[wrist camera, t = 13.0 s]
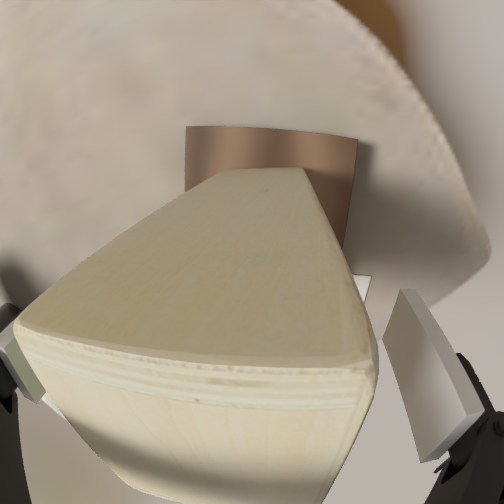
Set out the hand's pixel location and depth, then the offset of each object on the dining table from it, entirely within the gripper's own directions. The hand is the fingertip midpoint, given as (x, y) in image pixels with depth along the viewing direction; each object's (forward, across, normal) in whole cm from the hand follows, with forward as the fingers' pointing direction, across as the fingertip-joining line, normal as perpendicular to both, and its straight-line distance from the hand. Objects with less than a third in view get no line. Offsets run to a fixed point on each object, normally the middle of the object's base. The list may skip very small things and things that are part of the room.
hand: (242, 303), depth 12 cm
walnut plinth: (+17, 0, 0) cm, 17 cm away
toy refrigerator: (+14, 0, 0) cm, 14 cm away
